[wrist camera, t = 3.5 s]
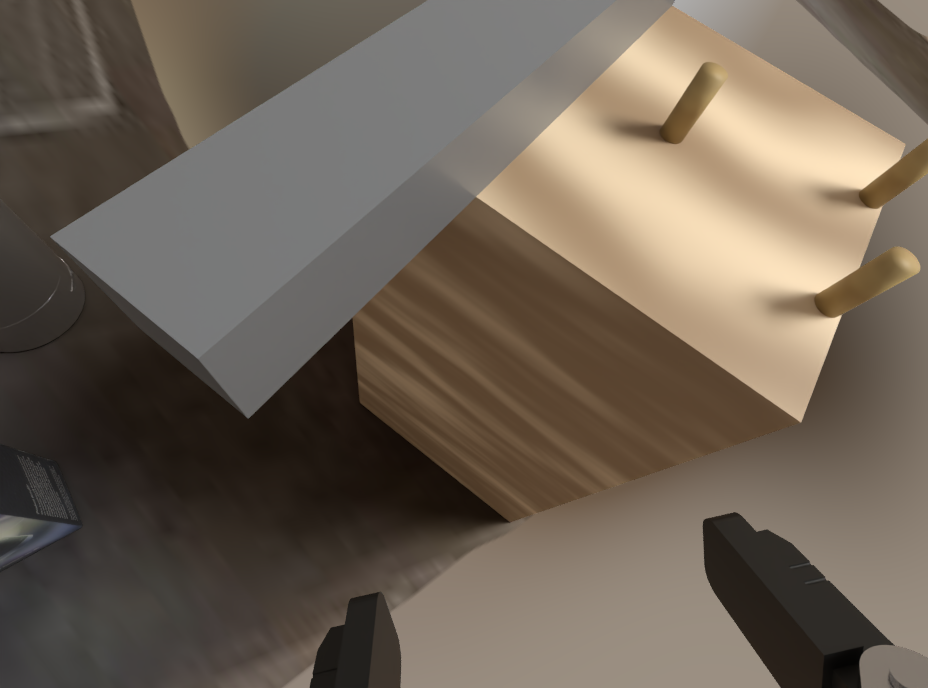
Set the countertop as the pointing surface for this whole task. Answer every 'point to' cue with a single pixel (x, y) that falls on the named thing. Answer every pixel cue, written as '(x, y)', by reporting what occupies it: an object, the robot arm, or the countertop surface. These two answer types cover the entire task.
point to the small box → (32, 505)
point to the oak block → (637, 278)
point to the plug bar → (339, 182)
